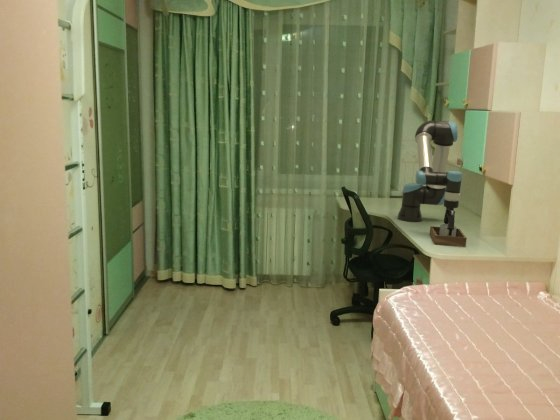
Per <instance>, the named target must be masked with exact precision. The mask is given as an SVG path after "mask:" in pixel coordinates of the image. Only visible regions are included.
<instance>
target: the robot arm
mask: <svg viewBox="0 0 560 420" xmlns="http://www.w3.org/2000/svg"><path fill="white" fill-rule="evenodd" d="M458 134H459V132H458V125H457V123H456V122H454V121H449V120H448V121H445V120H443V121H442V120H426V121H425V122H423V123H421V124H420V125H419V126H418V127H417V129H416V130H415V135H414V141H415V143H416V145H417V159H418V170H417V171H416V173H415V182H410V183H406V184H404V186H403V189H402V198H401V199H402V200H401V207H400V210H398V211H399V212H398V214H397V219H398V220H400V221H404V222H411V223H413V222H415V223H417V222H421V221H422V220H423V216H422V211H421V205H429V206H431V205H432V206H442V205H443V207H445V213H444V218H443V224H448V228H447V229H448V230H447V236H452V235H453V229H454V226H455V213H456V211H455V210H454V209H457V208H459V200H460V197H461V196H462V195H461V189H462V188H461V185H462V180H463V178H462V177H463V174H462V172H461V171H457V170H449V171H447V165H448V159H449V154H450V148H451V147H452V146H453V145H454V143H456V142H457V140H458V137H459V136H458ZM431 142H432V143H433V145H435V146H434V151H433V153H432V146H431V145H432V144H431ZM432 155H433V156H432ZM446 171H447V172H446Z"/></svg>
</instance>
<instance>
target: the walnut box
mask: <svg viewBox="0 0 560 420" xmlns="http://www.w3.org/2000/svg"><path fill="white" fill-rule="evenodd" d="M439 231H440V226H430V227H429V236H430V237H429V238H431V241H432V243H433V244H434V245H435V246H437V245H438V246H449V247H457V246H458V248H459V247H460V248H466V247H467V246H466V245H467V241H468V240H467V236H466V235H465V234H464V233H463V231H462V229H460V228H457V229H456V237H454V236H442V235H439Z"/></svg>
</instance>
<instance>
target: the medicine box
mask: <svg viewBox="0 0 560 420" xmlns="http://www.w3.org/2000/svg"><path fill="white" fill-rule="evenodd" d="M439 227H440V231H439V235H442V236H447V230H448V229H447V228H448V224H445V223H442V224H439ZM456 229H457V226H455V225H454V229H453V235H452V236H454V237H456Z"/></svg>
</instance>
